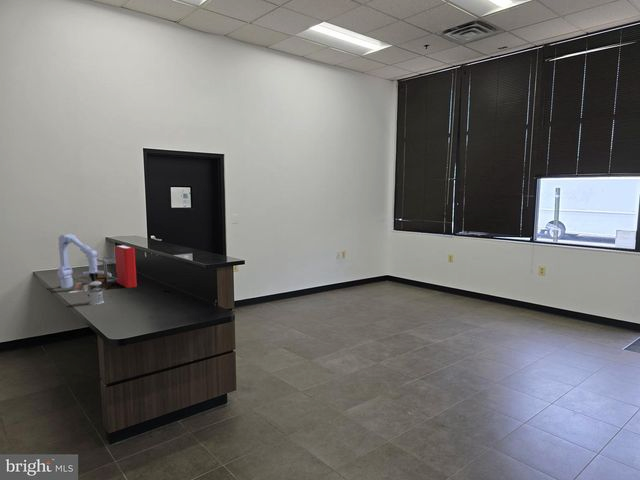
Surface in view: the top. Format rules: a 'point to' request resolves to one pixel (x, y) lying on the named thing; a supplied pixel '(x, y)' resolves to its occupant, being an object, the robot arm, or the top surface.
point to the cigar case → (101, 279)
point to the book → (125, 265)
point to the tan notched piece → (88, 287)
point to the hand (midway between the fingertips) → (94, 282)
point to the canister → (78, 286)
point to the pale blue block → (85, 288)
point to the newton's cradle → (106, 267)
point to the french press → (96, 293)
